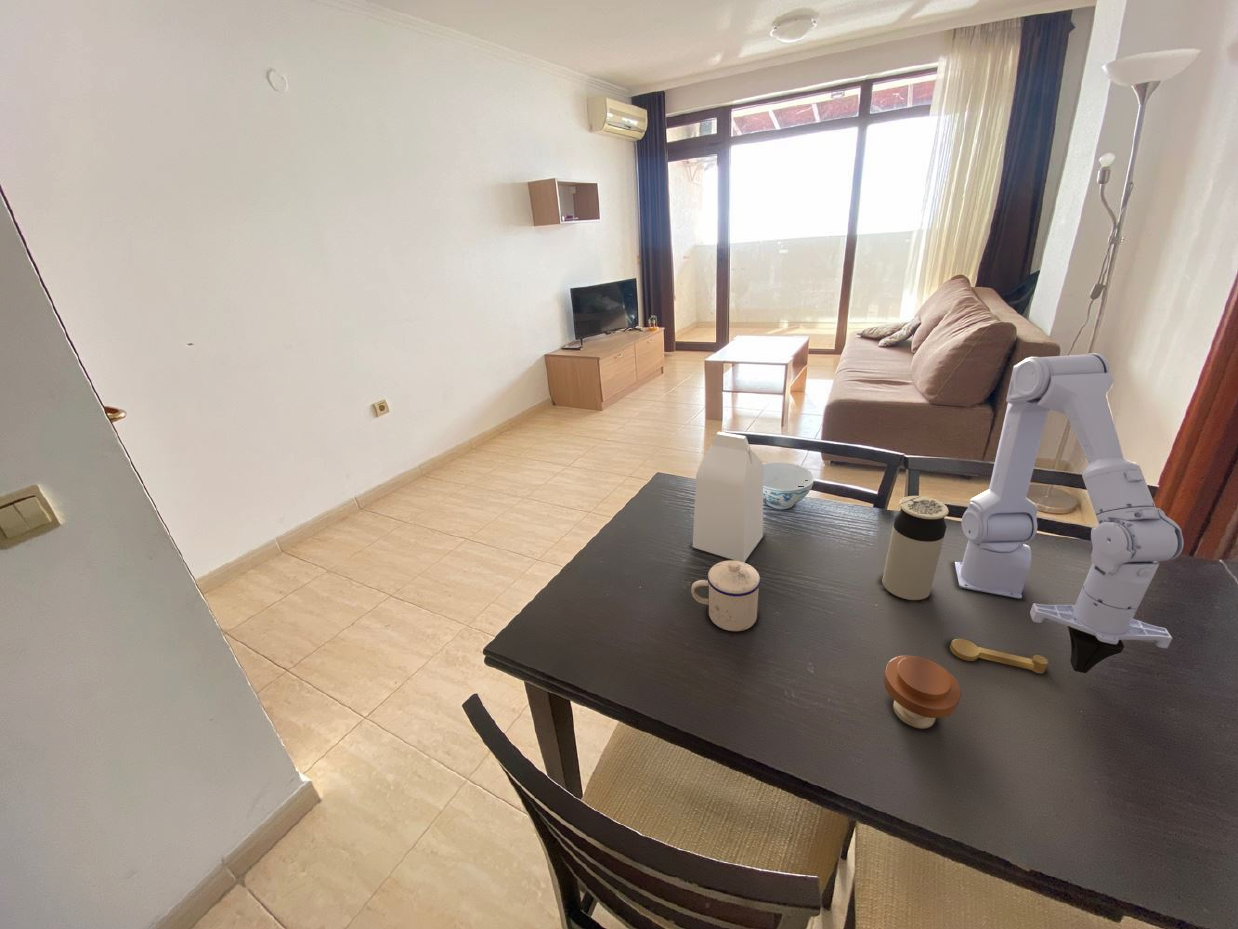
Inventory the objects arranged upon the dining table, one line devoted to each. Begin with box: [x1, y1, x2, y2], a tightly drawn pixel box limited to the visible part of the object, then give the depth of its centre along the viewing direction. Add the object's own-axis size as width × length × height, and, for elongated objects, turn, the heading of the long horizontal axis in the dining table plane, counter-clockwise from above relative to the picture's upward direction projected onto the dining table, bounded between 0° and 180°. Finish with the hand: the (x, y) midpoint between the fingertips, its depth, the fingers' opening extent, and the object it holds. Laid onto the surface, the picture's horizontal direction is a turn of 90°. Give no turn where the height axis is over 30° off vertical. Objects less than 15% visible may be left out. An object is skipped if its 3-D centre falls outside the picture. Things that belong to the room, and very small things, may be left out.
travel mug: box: [881, 495, 950, 601], centre depth 91 cm, size 8×8×18 cm
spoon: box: [949, 638, 1049, 674], centre depth 78 cm, size 12×4×2 cm, turn 65°
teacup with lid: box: [690, 559, 761, 632], centre depth 89 cm, size 12×9×12 cm
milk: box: [692, 431, 764, 563], centre depth 107 cm, size 12×12×26 cm
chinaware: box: [762, 461, 815, 510], centre depth 124 cm, size 15×15×8 cm
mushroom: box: [883, 654, 962, 729], centre depth 70 cm, size 9×9×8 cm
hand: (1078, 667), depth 74 cm, fingers closed
